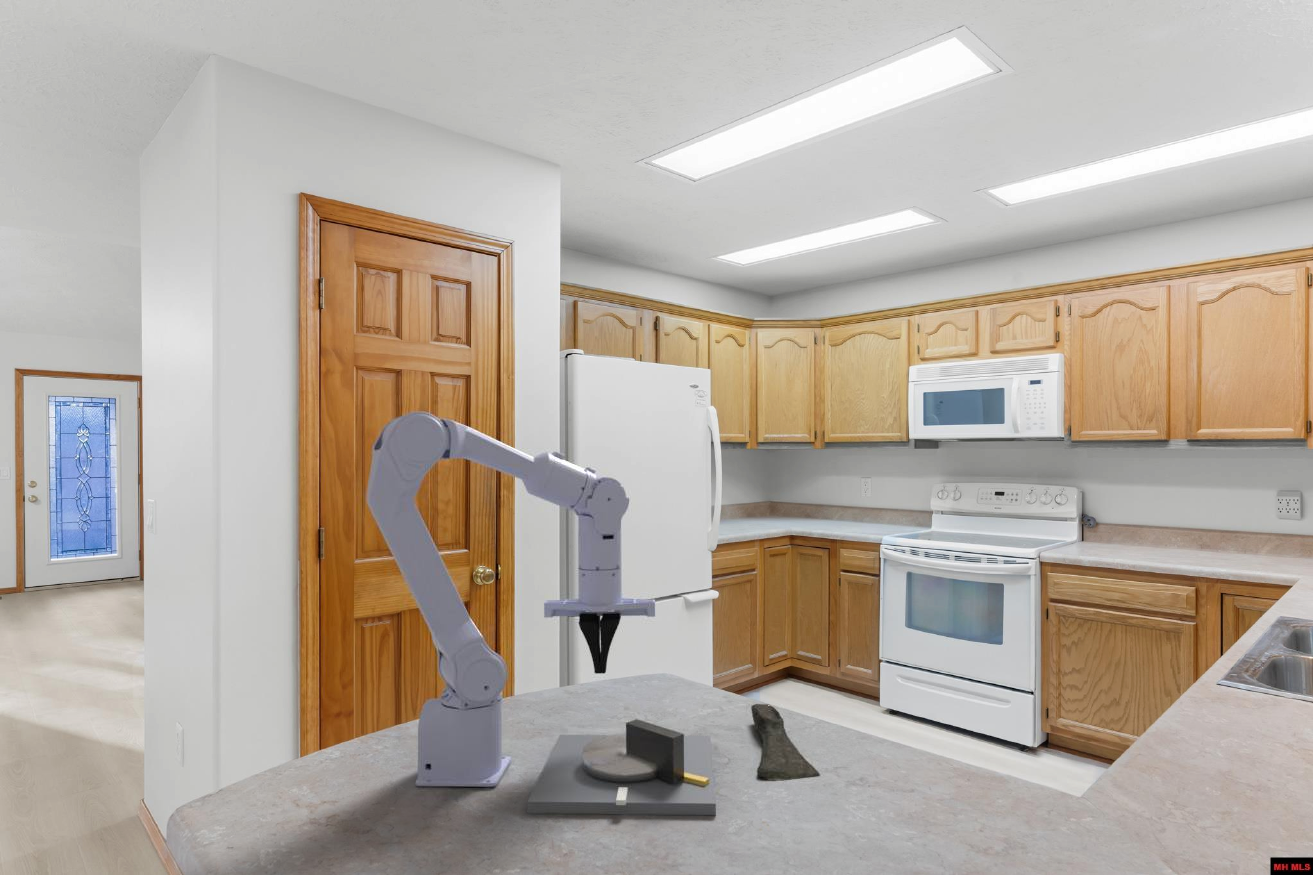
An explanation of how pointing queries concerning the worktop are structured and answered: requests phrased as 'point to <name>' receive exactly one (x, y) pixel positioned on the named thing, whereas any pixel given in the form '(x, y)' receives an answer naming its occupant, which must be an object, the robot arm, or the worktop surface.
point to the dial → (637, 754)
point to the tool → (778, 748)
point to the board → (623, 784)
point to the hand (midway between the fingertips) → (600, 671)
